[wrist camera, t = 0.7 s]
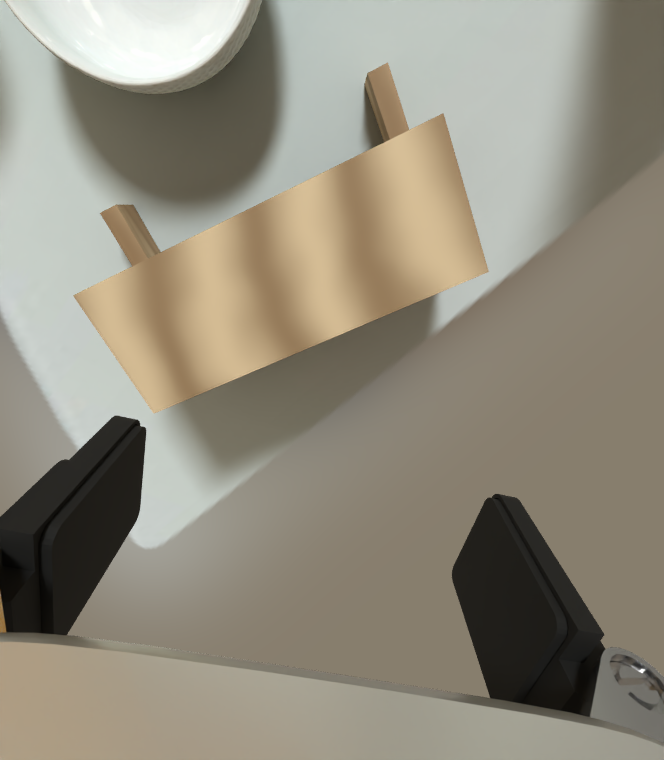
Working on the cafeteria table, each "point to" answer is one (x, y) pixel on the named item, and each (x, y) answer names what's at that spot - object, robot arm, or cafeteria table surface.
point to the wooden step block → (291, 263)
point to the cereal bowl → (141, 38)
